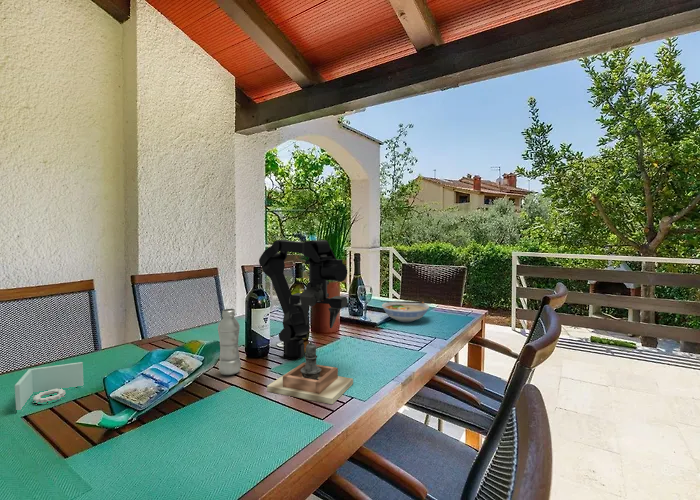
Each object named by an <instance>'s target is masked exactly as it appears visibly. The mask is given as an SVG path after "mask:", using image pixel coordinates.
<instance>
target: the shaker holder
mask: <svg viewBox="0 0 700 500" xmlns="http://www.w3.org/2000/svg"><path fill="white" fill-rule="evenodd" d="M305 364H306V362H302V363H301V364H298V365H297V366H296V367H294V368H292V369H290V371H289V370H288V372H285V373H284V374H283V375H282V376H280V377H279V378H277V379H276V380H274V381H272V382H271V383H270V384H268V385H267V386H266V391H267V392H268V393H275V394H279V395H284V396H290V397H295V398H299V399H304V400H309V401H314V402H318V403H324V404H329V405H333V404H334V403H335V402H337V400H338V399H340V397H341V396H343V394H344V393H346V392H347V390H349V388H350V387H351V386H352V385H353V384H354V378H350V377H345V376H341V375H340V376H339V369H338V367H335V366H327V365H321V364H317V367H320V368H321V372H320V375H319V377H318V378H317V379H319V380H313V379H308V378H304V377H303V376H302V372H301V369H302V368H303V367H305Z"/></svg>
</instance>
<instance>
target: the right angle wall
mask: <svg viewBox="0 0 700 500" xmlns="http://www.w3.org/2000/svg"><path fill="white" fill-rule="evenodd" d="M83 363H84V362H83V361H78V362H71V363H66V364H65V363H64V364H58V365H49V366H42V367H35V368H28V370H27V371H26V372H25V373H24V374H23V375H22V376H21V377H20V378H19V380H18V381H17V382H16V383H15V384H14V393H15V394H14V395H15V396H14V397H15V411H16V410H21V409H22V407H23V406H24V405H25V403H26V402H27V400H28V399H29V398H30V396H31V395H32V394H33V392H39V391H44V392H40V393H39V394H37V395H34V396H32V401H36V403H38V402H40V403H43V402H47V401H52V400H57V399H60V398H61V397H65V396H66V395H65V394H66V390H63V389H62V388H69V387H77V386H83V385H84V365H83ZM83 387H84V386H83ZM60 388H61V389H60ZM45 390H48V391H45ZM54 393H57V395H54V396H49V397H46V398H41V397H42V396H44V395H49V394H54ZM64 395H65V396H64Z"/></svg>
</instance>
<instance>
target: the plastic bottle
mask: <svg viewBox="0 0 700 500" xmlns="http://www.w3.org/2000/svg"><path fill="white" fill-rule="evenodd" d="M235 310H236V309H235V308H224V309H222V313H221V317H222V318H221V320H220V322H219V323H218V325H217V332H218V339H219V348H220V352H219V353H220V354H219V362H218V370H219V373H220V374H221V375H223V376H232V375H233V376H234V375H235V374H237V373H239V372H240V370H241V366H242V365H241V364H242V362H241V359H240V352H239V351H240V350H239V338H240V337H239V336H240V329H241V327H240V326H241V325H240V323H239V321H238V320H237V318H236V317H235V316H236V311H235Z"/></svg>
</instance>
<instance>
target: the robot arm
mask: <svg viewBox="0 0 700 500" xmlns="http://www.w3.org/2000/svg"><path fill="white" fill-rule="evenodd" d="M288 253H296V254H302V255H303V256H304V257H306V258H308V259H306V260H305V261H304V264H305V265H308V267H309V269H308V271H309V279H308V281H309V282H307V284H306V289H304V290H303V291H302V292H297V293H293V294H292V292H291V289H290V286H289V284H288V281H287V278H286V277H285V269H286V267H285V266H286V265H285V261H286V259H287V258H288ZM260 255H261V256H260V257H259V259H258V264H259V266H260V267H261V266H262V268H261V270H262V272H263V273H264V274H265V275H266V276H267V277H269V278H270V280H271V284H272V286H273V288H274V291H275V294H276V297H277V299H278V303H279V305H280V308H281V309H282V312H283V319H282V327H283V329H282V330H281V331H280V332H279V333H278V339H279V341H280V342H283V349H282V350H283V355H281V356H280V358H281V359H286V360H292V361H298V360H299V359H301V358H303V357H305V356H306V352H305V343H304V339H306V338H308V335H309V334H308V333H309V330H310V328H311V327H310V320H309V307H313V306H315V305H316V304H322V305H323V304H326V305H329V306H330V307H329V308H328V311H329V328H330V329H332V328H333V326H334V324H335V322H336V320H337V316H338V315H339V313H340V311H341V309H343V308H345V307H346V306H348V303H349V300H348V298H347V296H343V295H341V296H340V295H335V296H333V297H329V296H330V294H329V293H328V285H329V281H332V282H338V283H339V282H340V283H342V282H344V281H345V280H346V279H347V276H348V269H347V266H346V265H345V264H344V263H343V261H344V260H343V259H341V258H340V259H337V258H336V255H335V253H334V252H333V249H332V248H331V246H330V243H329V241H328V240H327V239H321V240H320V239H315V240H313V239H312V240H306V241H297V240H296V241H295V240H287V239H276V240H274V242H272V244H271V245H270V246H269V247H268V248H266V249H265V250H264V251H263V253H262V254H260Z"/></svg>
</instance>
